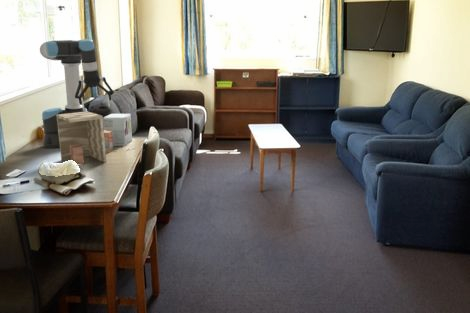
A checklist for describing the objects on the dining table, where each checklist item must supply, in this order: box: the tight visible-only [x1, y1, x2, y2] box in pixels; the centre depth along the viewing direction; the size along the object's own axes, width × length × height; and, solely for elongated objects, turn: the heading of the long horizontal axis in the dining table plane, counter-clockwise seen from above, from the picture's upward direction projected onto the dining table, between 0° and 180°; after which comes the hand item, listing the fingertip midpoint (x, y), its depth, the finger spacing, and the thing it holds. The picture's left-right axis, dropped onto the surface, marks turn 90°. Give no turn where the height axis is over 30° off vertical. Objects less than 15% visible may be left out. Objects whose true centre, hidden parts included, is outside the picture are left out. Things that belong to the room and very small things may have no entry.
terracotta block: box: [70, 144, 85, 165], centre depth 248 cm, size 5×5×10 cm
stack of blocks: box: [104, 130, 114, 153], centre depth 276 cm, size 21×6×12 cm, turn 85°
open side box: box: [57, 111, 107, 163], centre depth 252 cm, size 21×17×26 cm
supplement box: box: [103, 113, 133, 147], centre depth 297 cm, size 17×13×18 cm
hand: (96, 108), depth 253 cm, fingers open, 13 cm apart
